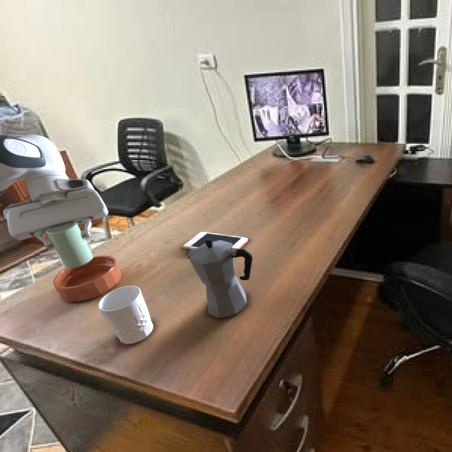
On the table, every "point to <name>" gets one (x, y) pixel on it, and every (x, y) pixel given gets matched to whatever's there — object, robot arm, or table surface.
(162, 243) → the table surface
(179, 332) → the table surface
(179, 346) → the table surface
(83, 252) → the cup
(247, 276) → the coffeepot
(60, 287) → the bowl
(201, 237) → the cell phone
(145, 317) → the white cup
